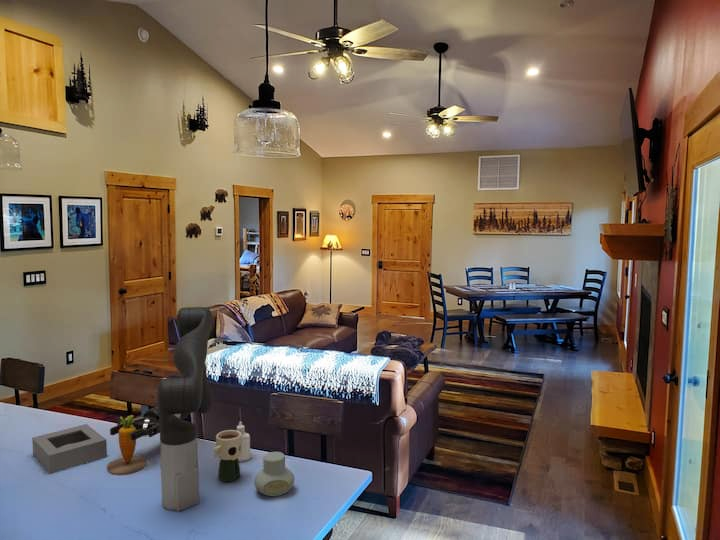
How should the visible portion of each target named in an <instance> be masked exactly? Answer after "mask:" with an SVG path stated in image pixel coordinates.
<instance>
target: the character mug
mask: <svg viewBox="0 0 720 540" xmlns="http://www.w3.org/2000/svg"><path fill="white" fill-rule="evenodd" d="M242 443H243V438H242V435H241V433H240V432H239V431H237V429H236V430H235V429H226V430H222V431H219V432H218V433H217V434H216V436H215V447H214V458H215V459H219V464H218V466H219V467H218V474H217V478H218V479H220V480H222V481H224V482H233V481H236V480H237V477H238V478H240V477H241V467H240V462H239V460H238V458H239V457H240V455H241V453H242Z"/></svg>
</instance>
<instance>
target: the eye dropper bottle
mask: <svg viewBox="0 0 720 540" xmlns="http://www.w3.org/2000/svg"><path fill="white" fill-rule="evenodd" d="M245 429H246V428H245V425H243V422H242V421H239V423H238V425H237V426H236V430H237V431H239V432H240V433H241V435H242V438H243V443H242V453H241V455H240V457H239V458H238V460H239V463H240V462H246V461H249V460H250V459H251V435H250V434H249V433H248V432H246V431H245Z"/></svg>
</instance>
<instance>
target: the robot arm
mask: <svg viewBox="0 0 720 540" xmlns="http://www.w3.org/2000/svg"><path fill="white" fill-rule="evenodd" d="M176 326H177V332H178V333H177V334H178V341H177V343H176V346H175V349H174V352H173V358H172V359H173V360H172V361H173V365H174V367H175V368H176V370H177V371H178V372H179V373H180V374H182V376H184V377H171V378H167V377H166V378H163V379H161V380H160V382H159V383H158V387H157V395H156V396H157V397H156V398H157V406H154V407H152V408H150V409H147V410H145V412H144V414H143V416H139V417H137V418H135V416H134V417H133V419H132V421H134V423H133V424H132V425H131V426H134V427H135V428H136V431H135V432H132V433H131V440H136V441H137V439H140V438H142V437H143V438H144V437H147V436H148V438H152V437H154V436H156V435H158V434H159V445H160V446H159V447H160V448H159V449H160V481H161V483H160V486H161V506H162V507H163V508H164V509H167V510H171V511H176V512H180V511H183V510H185V509H188V508H190V507H192V506H195V505H197V504H199V503H200V473H199V471H200V469H199V460H198V459H199V458H198V453H199V451H198V428H197V425H196V424H195V423H194V422H191V421H188V420H186V419H185V418H187V417H189V415H190V414H192V413H198V414H201V415H204V414H207V413H208V412H210V410H211V409H212V407H213V405H214V404H213V403H214V398H213V397H214V396H213V393H212V390H211V388H210V384H209V382H208V375H207V364H206V360H207V355H208V346H209V345H208V343H209V338H210V334H211V332H212V331H211V330H212V326H213V313H212V311H211V309H210V308H208V307H206V306H205V307H204V306H191V307H190V306H188V307H187V306H186V307H181V308H179V310H178V312H177V315H176ZM126 418H127V417H125V418H123V419H124V421H125V419H126ZM129 418H130V417H129ZM184 419H185V420H184ZM132 421H131V422H132ZM116 423H117V424H116V425H115V426H112V427H111V428H110V429H109V435H110V436H115V435H118V434H119V429H120V428H122V427H123V426H124V424H123V422H122V420H121V419H120V420H118V421H116Z"/></svg>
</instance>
